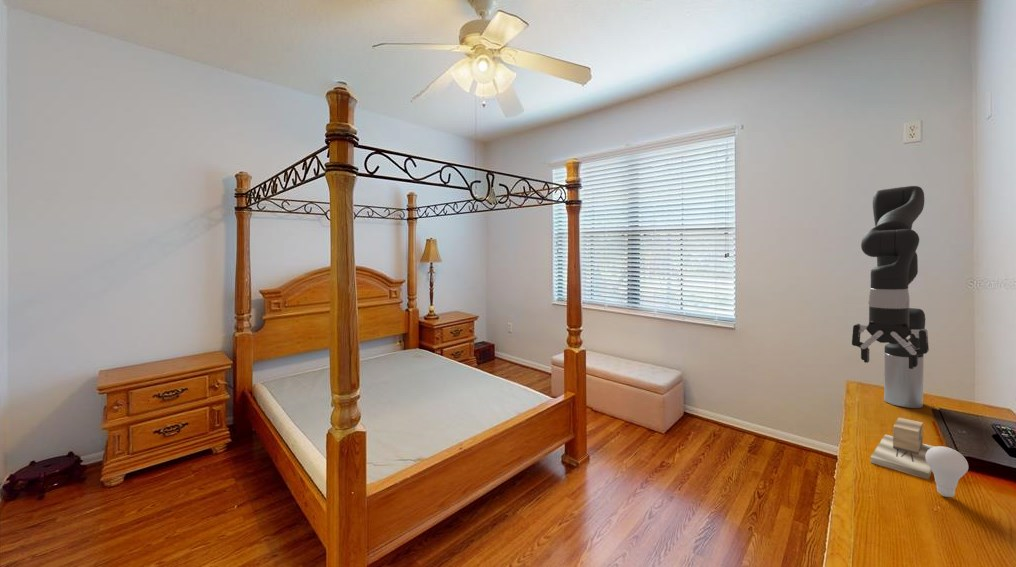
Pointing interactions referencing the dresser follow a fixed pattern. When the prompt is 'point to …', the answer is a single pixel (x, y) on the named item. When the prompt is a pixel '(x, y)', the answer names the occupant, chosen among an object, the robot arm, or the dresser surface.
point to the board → (901, 458)
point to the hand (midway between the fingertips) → (888, 365)
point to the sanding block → (908, 435)
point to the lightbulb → (946, 468)
